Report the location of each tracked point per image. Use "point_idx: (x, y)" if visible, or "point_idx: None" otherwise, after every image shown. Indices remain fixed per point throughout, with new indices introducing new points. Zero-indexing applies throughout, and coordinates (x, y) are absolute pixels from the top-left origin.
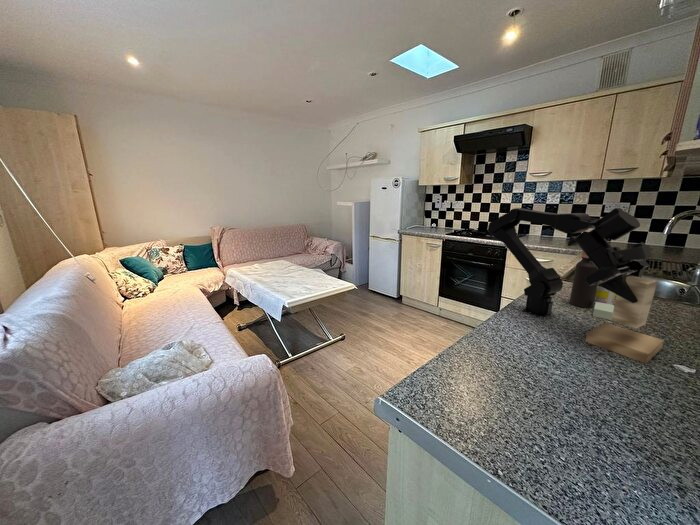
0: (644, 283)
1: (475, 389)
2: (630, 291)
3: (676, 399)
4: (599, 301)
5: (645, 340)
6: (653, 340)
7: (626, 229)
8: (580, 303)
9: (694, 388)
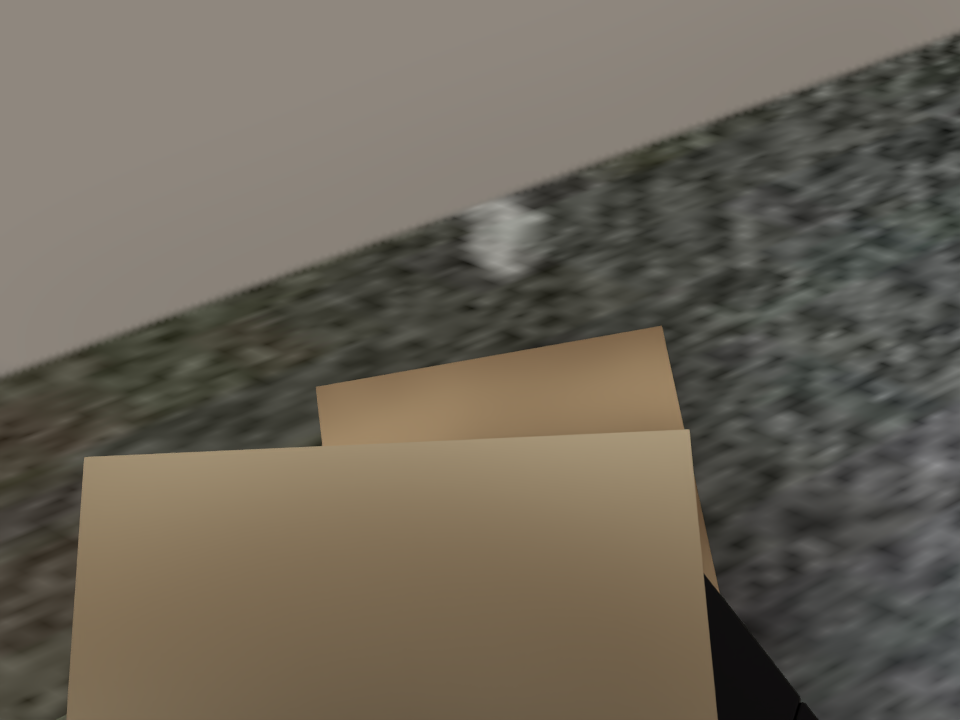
0: (695, 498)
1: None
2: (741, 652)
3: (908, 110)
4: None
5: (441, 437)
6: (388, 414)
7: None
8: None
9: (697, 126)
